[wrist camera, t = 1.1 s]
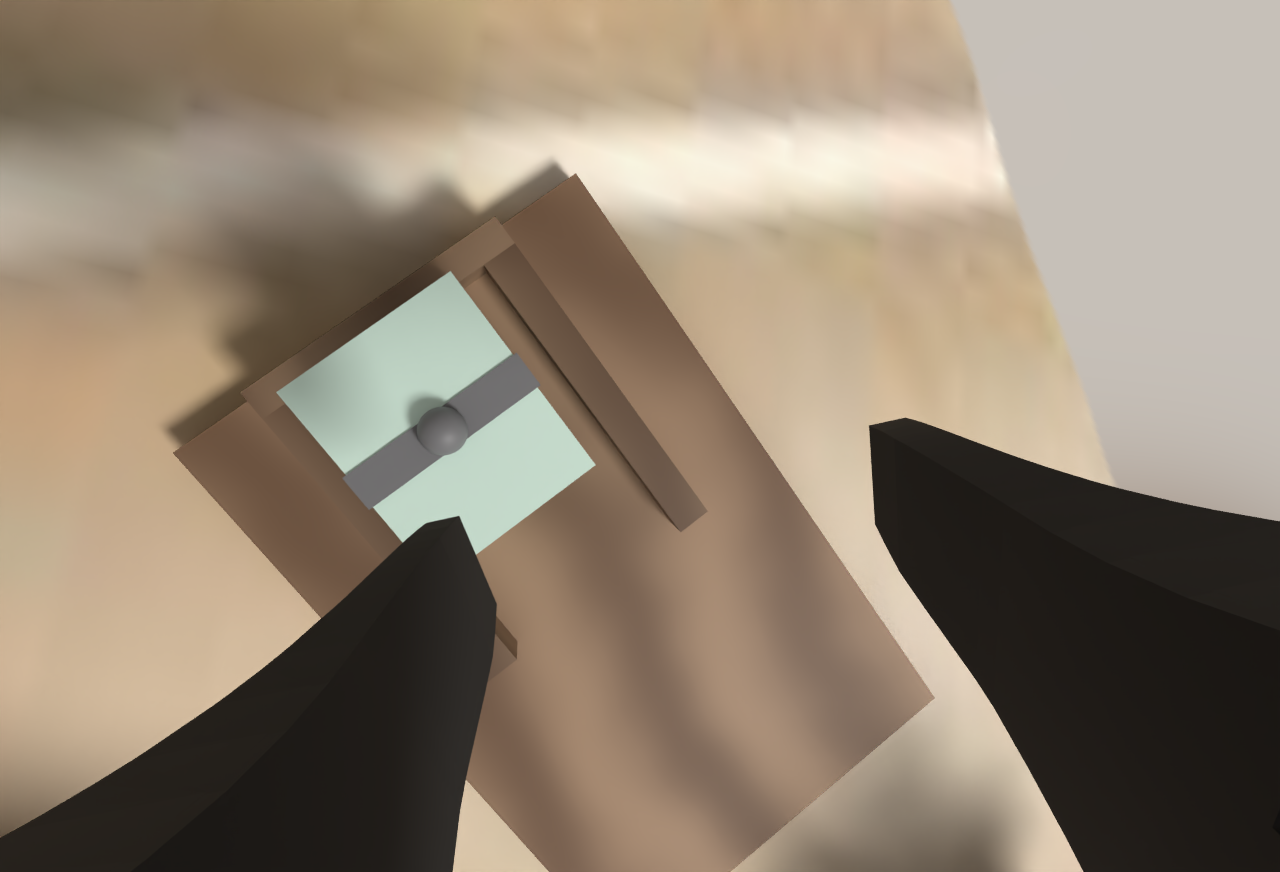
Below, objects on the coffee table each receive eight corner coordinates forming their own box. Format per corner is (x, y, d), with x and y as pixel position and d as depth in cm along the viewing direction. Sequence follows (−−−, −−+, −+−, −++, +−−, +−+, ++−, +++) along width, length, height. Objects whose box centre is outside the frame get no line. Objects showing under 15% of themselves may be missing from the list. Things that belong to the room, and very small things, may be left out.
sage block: (459, 530, 22) (429, 597, 15) (345, 390, 21) (258, 395, 14) (579, 440, 22) (602, 466, 15) (474, 300, 21) (449, 262, 14)
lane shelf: (623, 936, 25) (634, 996, 23) (189, 449, 21) (144, 458, 18) (919, 686, 27) (959, 717, 24) (573, 182, 22) (579, 158, 20)
